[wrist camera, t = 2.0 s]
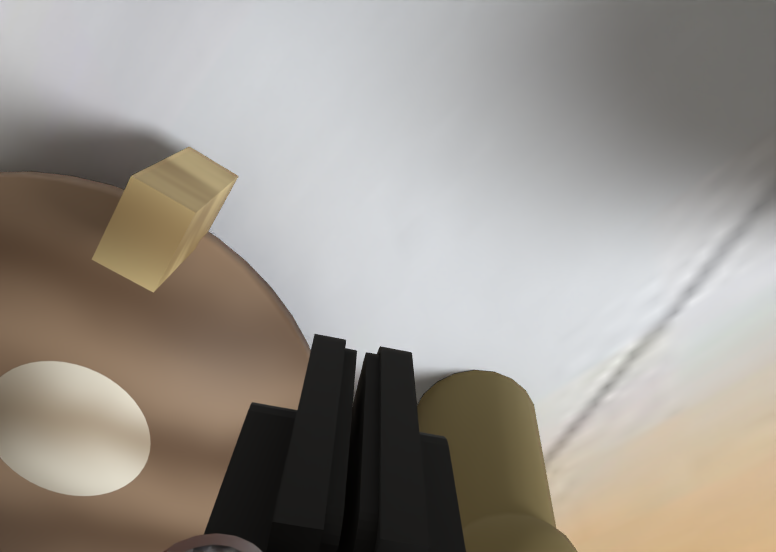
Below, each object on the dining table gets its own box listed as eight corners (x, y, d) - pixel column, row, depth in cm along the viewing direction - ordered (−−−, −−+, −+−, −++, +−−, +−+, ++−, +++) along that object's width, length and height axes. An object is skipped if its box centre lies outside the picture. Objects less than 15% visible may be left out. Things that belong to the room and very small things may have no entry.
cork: (414, 474, 29) (429, 707, 19) (410, 372, 27) (424, 575, 16) (532, 469, 29) (612, 701, 19) (539, 367, 26) (633, 567, 16)
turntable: (325, 601, 29) (314, 705, 25) (-102, 586, 29) (-195, 689, 24) (330, 153, 21) (312, 184, 16) (-283, 123, 20) (-482, 146, 16)
